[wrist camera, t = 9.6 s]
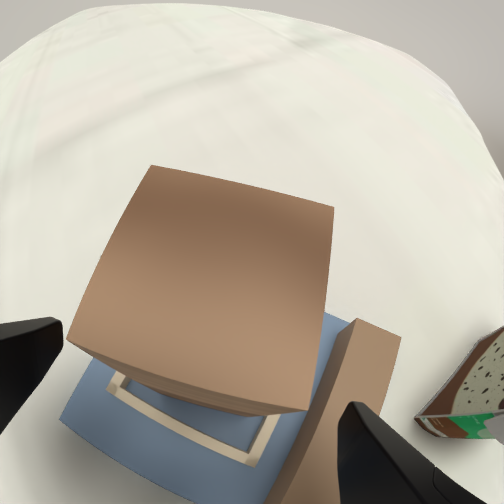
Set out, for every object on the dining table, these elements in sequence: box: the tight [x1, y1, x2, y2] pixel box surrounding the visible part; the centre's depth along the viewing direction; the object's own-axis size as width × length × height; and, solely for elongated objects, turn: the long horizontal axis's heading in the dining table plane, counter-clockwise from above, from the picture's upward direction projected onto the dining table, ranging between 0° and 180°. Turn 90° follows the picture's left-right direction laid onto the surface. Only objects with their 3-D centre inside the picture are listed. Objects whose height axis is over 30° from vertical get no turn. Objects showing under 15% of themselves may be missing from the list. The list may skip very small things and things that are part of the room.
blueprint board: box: [59, 312, 401, 504], centre depth 15 cm, size 14×17×4 cm
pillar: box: [66, 165, 334, 417], centre depth 12 cm, size 5×5×12 cm
